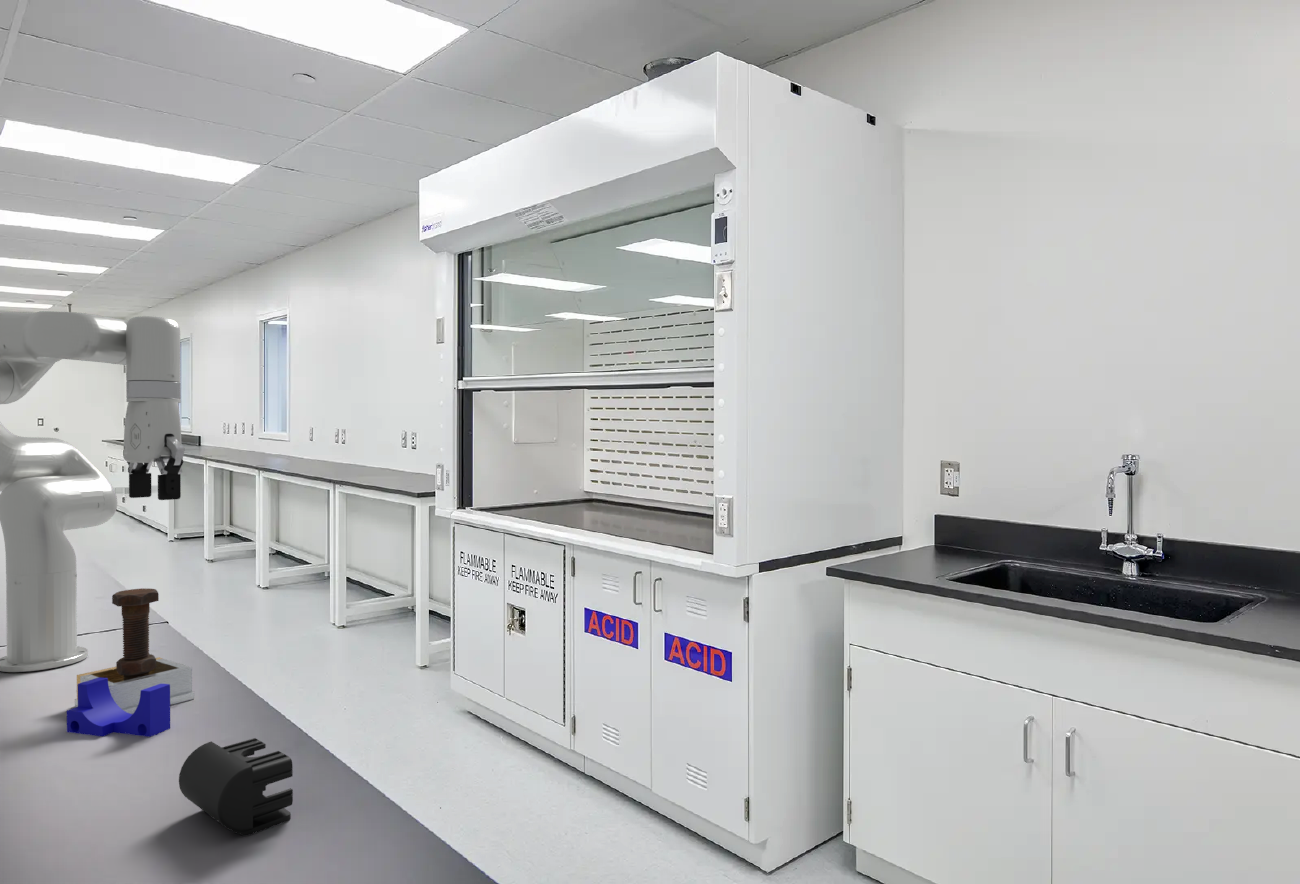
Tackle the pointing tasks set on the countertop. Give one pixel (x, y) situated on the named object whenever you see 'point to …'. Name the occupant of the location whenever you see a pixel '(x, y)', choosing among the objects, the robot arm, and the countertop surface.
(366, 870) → the countertop surface
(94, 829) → the countertop surface
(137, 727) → the cable clip
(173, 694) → the shallow open tray
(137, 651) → the bolt
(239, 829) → the end cap
